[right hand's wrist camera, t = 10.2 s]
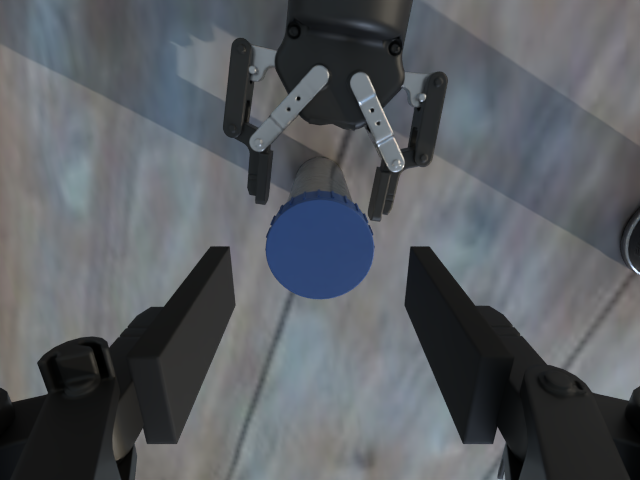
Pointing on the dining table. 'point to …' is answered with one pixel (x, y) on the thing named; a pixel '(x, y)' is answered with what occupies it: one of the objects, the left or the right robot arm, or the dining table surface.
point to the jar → (320, 178)
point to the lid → (319, 245)
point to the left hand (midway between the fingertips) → (318, 210)
